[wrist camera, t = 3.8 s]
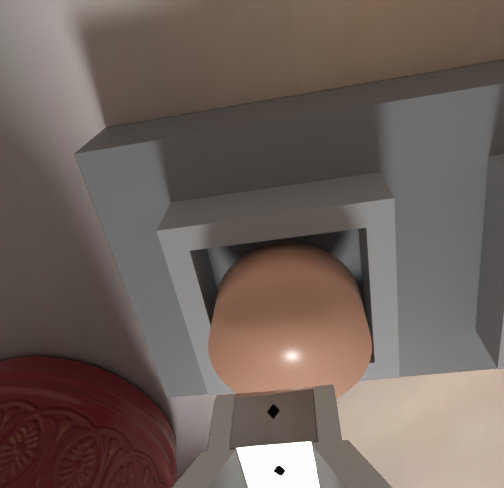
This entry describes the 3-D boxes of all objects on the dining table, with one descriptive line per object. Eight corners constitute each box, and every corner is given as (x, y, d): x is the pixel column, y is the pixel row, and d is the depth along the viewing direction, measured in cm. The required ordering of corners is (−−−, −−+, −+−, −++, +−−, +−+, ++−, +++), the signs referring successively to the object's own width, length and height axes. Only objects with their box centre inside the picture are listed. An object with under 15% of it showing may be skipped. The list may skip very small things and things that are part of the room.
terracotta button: (354, 233, 13) (367, 274, 11) (364, 350, 16) (375, 401, 14) (203, 252, 14) (190, 295, 12) (232, 363, 16) (226, 414, 14)
